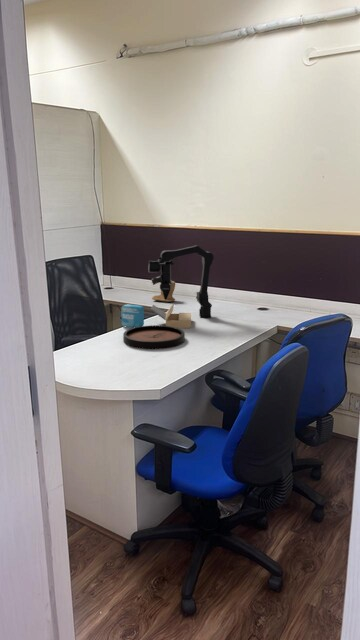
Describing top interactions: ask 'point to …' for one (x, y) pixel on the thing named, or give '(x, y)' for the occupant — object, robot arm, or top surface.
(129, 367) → the top surface
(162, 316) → the carton flap
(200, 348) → the top surface
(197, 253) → the robot arm
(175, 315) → the carton
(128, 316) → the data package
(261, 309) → the top surface
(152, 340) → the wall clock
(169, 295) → the tan suede boot shape
